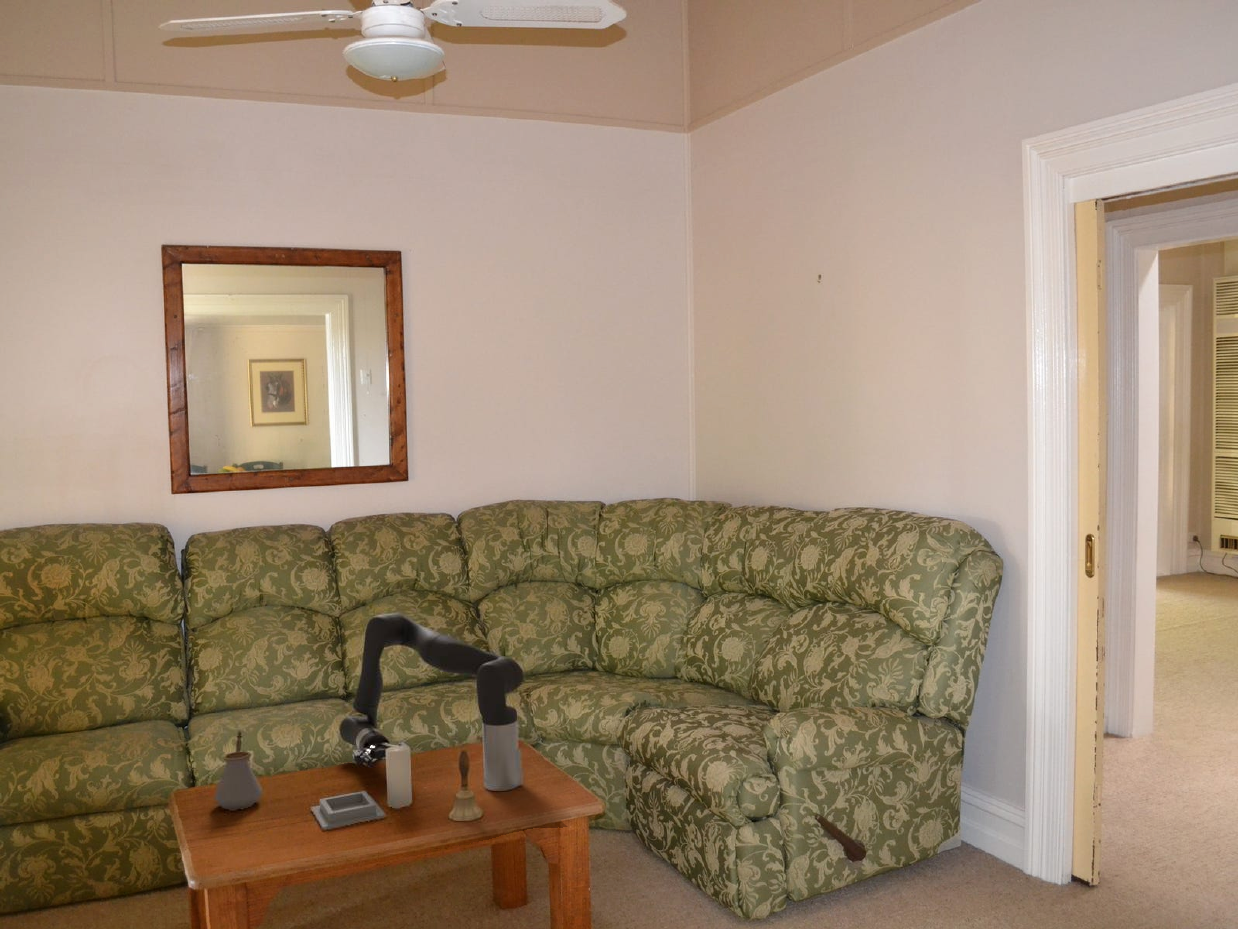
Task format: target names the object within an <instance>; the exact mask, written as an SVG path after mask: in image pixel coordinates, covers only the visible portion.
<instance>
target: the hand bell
mask: <svg viewBox="0 0 1238 929" xmlns="http://www.w3.org/2000/svg"><path fill="white" fill-rule="evenodd" d="M458 769H459V774H460V778H461V781H460V784H461V785H460V787H461V788H460V790H459V792H457V793H456V794H455V801H454V805H453V809H452V810H451V811H450V812H449V813H448V818H449V819H450V820H451V821H453V822H470V821H475V820H478V819H479V818H481V817H482V816H484V811H483V810H482V809H481V808H480V807H479V806H478V804H477V801H476V797H475V793H474V791H472V790H470V789H469V779H468V776H469V771H470V758H469V755H468V752H467V750H466V749H462V750H461V751H460V754H459V759H458Z"/></svg>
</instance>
